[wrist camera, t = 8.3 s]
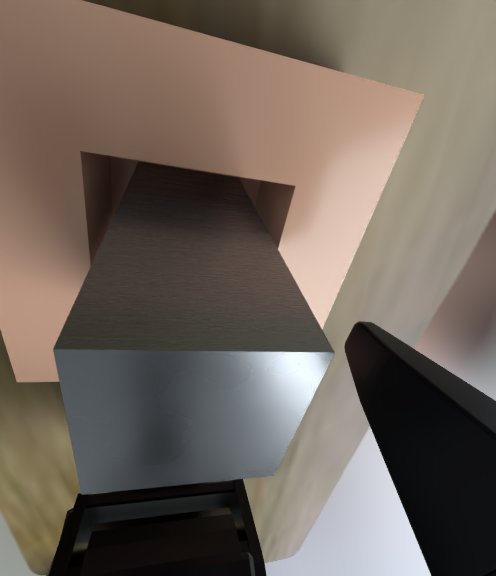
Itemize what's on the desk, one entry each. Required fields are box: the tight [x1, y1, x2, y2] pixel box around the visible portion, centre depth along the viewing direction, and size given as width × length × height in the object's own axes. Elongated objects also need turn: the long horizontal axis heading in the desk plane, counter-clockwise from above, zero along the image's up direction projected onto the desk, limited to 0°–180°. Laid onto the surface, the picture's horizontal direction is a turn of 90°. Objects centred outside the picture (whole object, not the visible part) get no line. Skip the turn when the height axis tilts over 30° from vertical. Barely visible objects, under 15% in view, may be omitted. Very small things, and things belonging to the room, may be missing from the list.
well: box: [0, 0, 424, 382], centre depth 12 cm, size 12×12×5 cm
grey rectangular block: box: [53, 162, 335, 495], centre depth 9 cm, size 4×4×10 cm
